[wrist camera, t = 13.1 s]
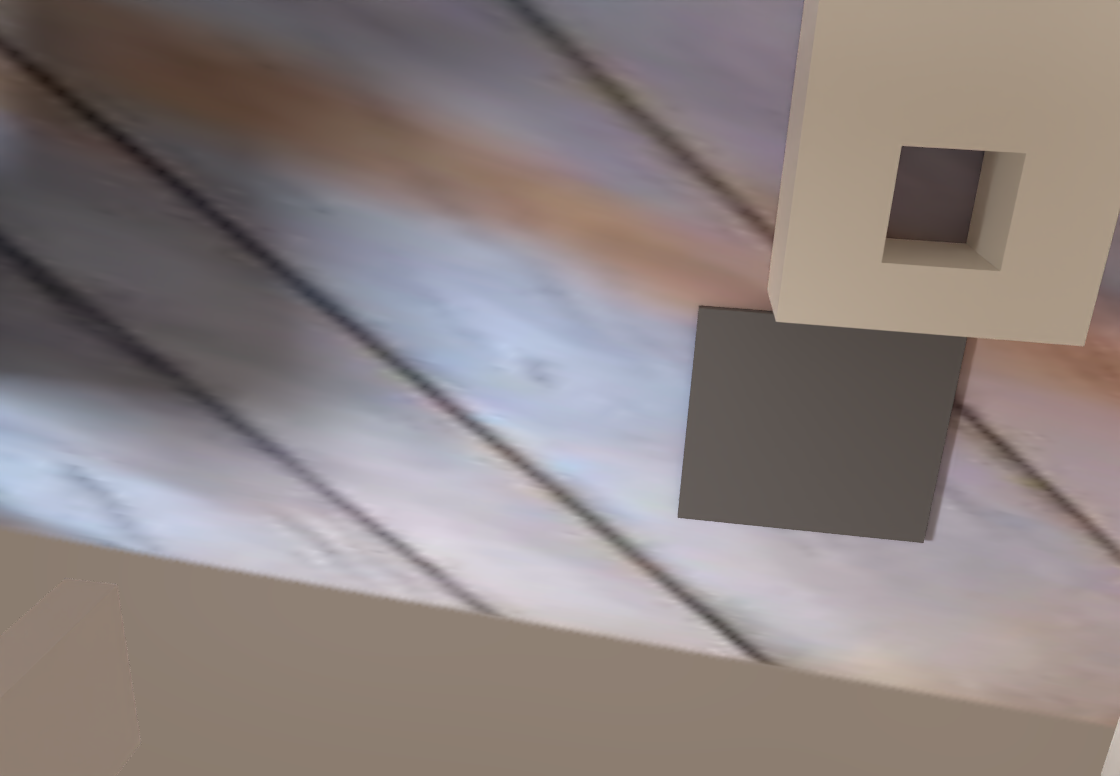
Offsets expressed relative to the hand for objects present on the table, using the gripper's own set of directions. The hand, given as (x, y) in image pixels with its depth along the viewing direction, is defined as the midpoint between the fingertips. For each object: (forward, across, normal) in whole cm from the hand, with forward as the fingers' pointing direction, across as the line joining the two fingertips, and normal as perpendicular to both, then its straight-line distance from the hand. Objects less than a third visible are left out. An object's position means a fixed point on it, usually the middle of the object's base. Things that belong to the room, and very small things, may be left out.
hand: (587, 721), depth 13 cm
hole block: (+33, +11, +8) cm, 35 cm away
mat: (+33, +8, -9) cm, 35 cm away
